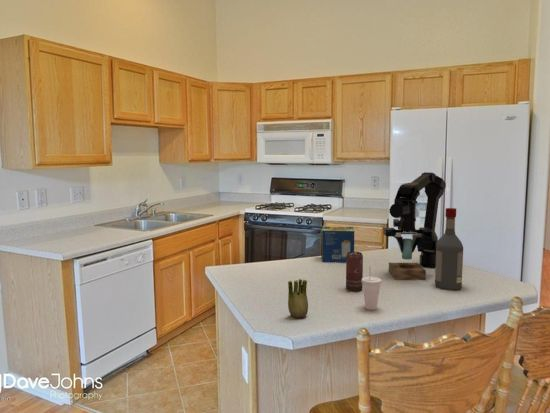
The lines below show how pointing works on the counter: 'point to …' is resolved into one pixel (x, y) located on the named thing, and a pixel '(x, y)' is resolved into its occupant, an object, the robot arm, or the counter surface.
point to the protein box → (337, 243)
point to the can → (354, 271)
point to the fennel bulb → (297, 299)
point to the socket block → (407, 271)
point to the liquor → (449, 256)
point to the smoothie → (371, 291)
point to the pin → (407, 249)
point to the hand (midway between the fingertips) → (407, 252)
